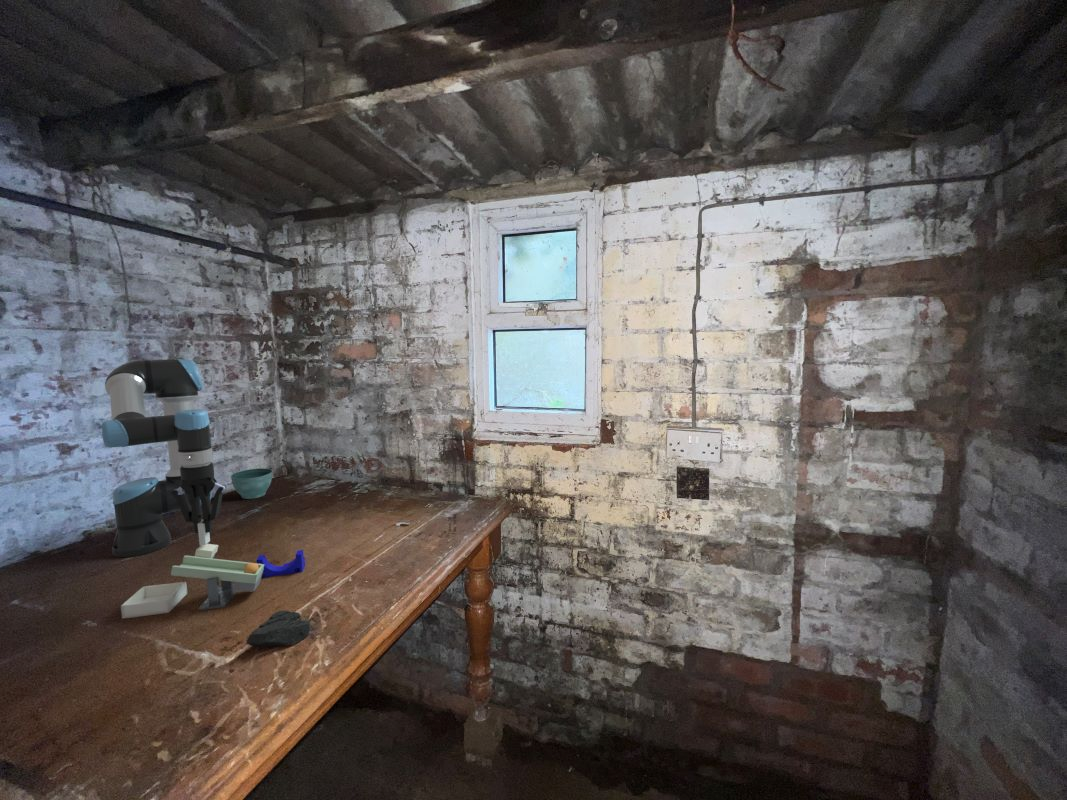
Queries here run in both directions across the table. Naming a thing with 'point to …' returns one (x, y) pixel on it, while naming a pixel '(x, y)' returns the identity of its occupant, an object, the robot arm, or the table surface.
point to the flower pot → (252, 482)
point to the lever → (218, 569)
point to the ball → (251, 568)
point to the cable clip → (287, 568)
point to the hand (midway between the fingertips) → (204, 542)
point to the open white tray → (154, 600)
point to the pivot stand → (218, 594)
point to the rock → (280, 630)
